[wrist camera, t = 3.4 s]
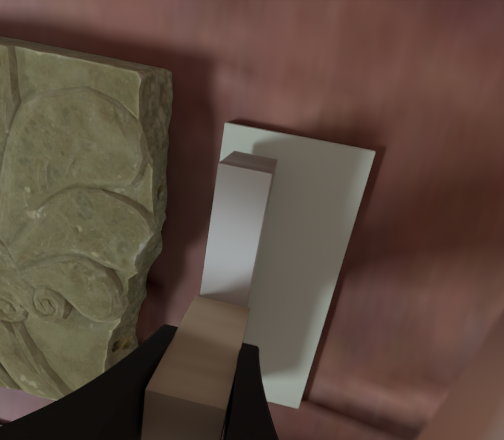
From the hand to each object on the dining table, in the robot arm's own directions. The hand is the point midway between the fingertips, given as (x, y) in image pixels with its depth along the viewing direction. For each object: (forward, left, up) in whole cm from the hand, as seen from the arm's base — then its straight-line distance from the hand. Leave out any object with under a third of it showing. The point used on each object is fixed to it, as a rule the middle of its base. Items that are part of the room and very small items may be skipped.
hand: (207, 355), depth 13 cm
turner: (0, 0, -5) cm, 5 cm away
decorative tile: (0, +13, -7) cm, 15 cm away
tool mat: (0, -2, -6) cm, 7 cm away
